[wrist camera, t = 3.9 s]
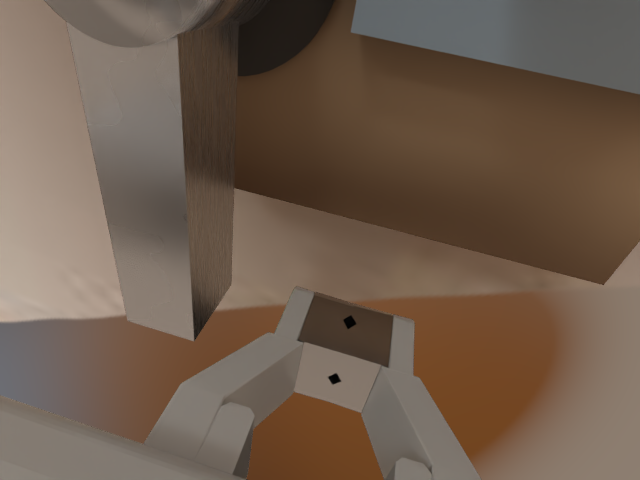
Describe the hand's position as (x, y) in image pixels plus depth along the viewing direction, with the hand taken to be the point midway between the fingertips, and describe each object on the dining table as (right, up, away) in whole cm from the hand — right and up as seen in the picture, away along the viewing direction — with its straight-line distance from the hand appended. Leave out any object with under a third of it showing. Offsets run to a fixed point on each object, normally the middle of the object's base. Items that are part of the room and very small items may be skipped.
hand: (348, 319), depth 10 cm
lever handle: (-3, +5, -1) cm, 6 cm away
